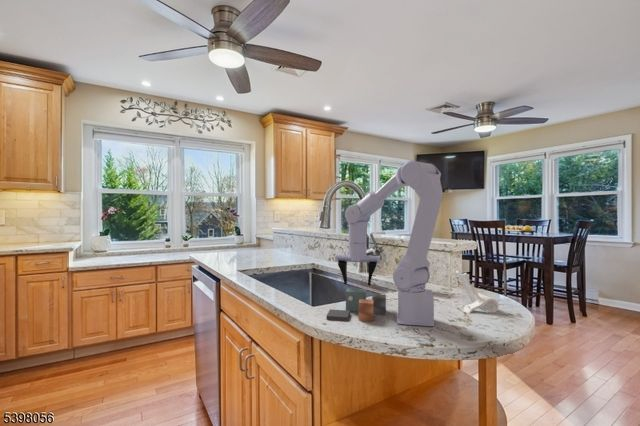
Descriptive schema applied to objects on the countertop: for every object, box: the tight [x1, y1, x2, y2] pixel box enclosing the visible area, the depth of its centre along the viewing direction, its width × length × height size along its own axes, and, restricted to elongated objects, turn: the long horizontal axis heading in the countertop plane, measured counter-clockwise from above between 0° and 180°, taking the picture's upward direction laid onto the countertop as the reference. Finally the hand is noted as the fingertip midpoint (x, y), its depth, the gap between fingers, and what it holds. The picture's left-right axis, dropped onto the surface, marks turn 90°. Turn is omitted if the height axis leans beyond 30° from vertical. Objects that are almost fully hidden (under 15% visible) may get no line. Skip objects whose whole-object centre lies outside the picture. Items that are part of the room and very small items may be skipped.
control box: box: [345, 288, 367, 313], centre depth 99 cm, size 6×5×6 cm
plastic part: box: [455, 270, 499, 314], centre depth 100 cm, size 8×10×12 cm
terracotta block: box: [358, 298, 375, 322], centre depth 91 cm, size 4×4×5 cm
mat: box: [326, 308, 351, 322], centre depth 93 cm, size 6×6×1 cm
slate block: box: [371, 293, 387, 316], centre depth 97 cm, size 4×4×5 cm
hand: (357, 284), depth 104 cm, fingers open, 7 cm apart
